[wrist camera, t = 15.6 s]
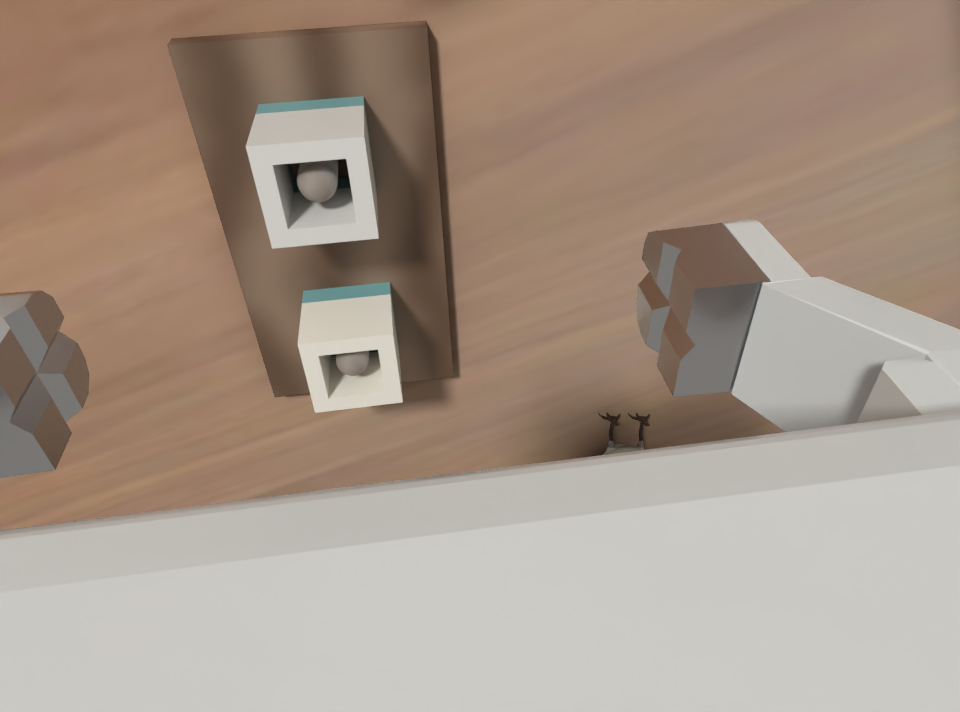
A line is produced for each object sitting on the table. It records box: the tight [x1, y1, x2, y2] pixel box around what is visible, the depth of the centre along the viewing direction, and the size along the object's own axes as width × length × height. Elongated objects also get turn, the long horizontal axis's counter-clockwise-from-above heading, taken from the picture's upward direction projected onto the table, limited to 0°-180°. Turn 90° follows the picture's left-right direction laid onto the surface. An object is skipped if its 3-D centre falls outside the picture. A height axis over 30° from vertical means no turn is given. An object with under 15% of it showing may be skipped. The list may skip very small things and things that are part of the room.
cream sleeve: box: [298, 282, 403, 413], centre depth 48 cm, size 6×6×6 cm
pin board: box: [167, 21, 454, 397], centre depth 44 cm, size 14×26×7 cm, turn 2°
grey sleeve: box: [246, 96, 379, 249], centre depth 40 cm, size 6×6×6 cm
